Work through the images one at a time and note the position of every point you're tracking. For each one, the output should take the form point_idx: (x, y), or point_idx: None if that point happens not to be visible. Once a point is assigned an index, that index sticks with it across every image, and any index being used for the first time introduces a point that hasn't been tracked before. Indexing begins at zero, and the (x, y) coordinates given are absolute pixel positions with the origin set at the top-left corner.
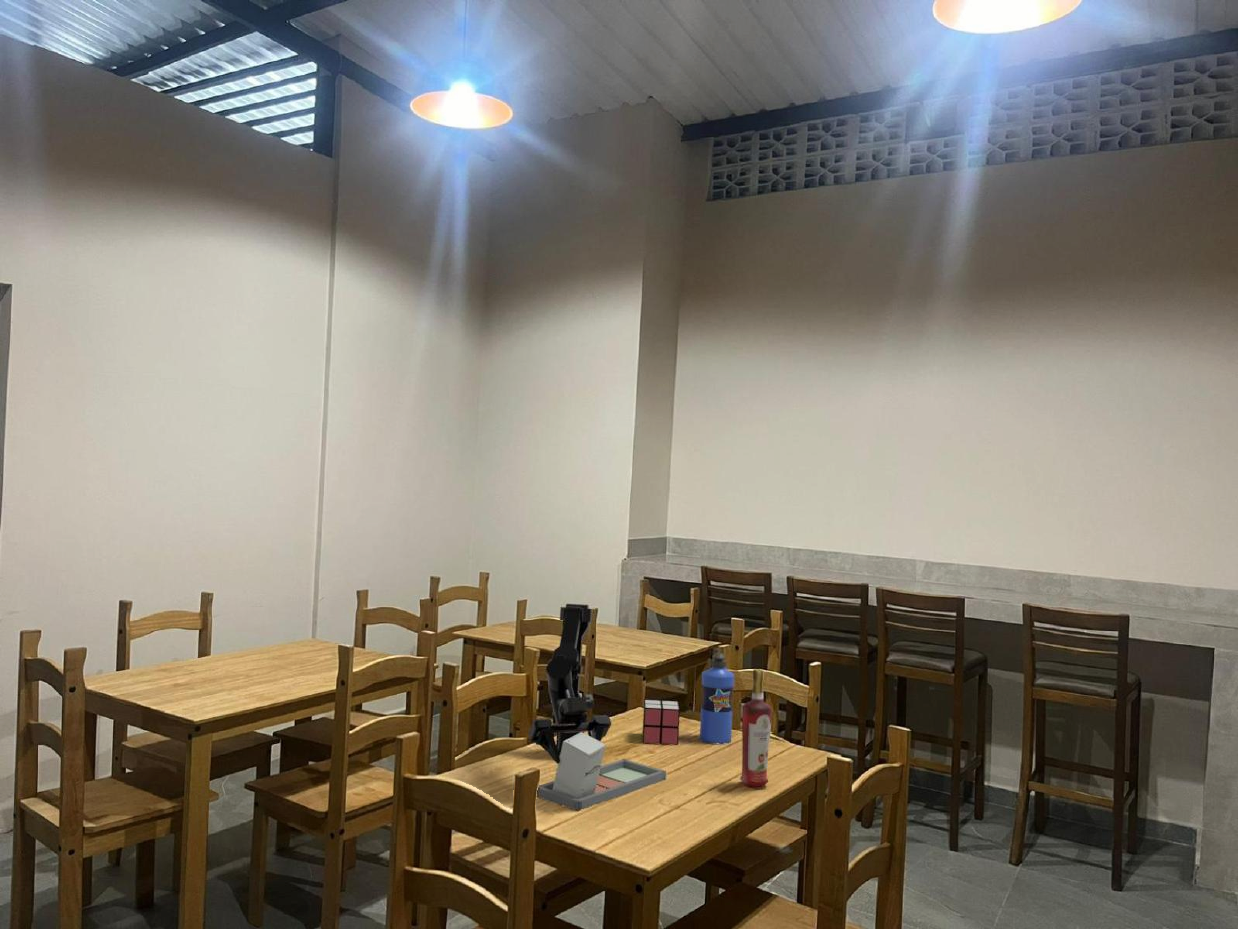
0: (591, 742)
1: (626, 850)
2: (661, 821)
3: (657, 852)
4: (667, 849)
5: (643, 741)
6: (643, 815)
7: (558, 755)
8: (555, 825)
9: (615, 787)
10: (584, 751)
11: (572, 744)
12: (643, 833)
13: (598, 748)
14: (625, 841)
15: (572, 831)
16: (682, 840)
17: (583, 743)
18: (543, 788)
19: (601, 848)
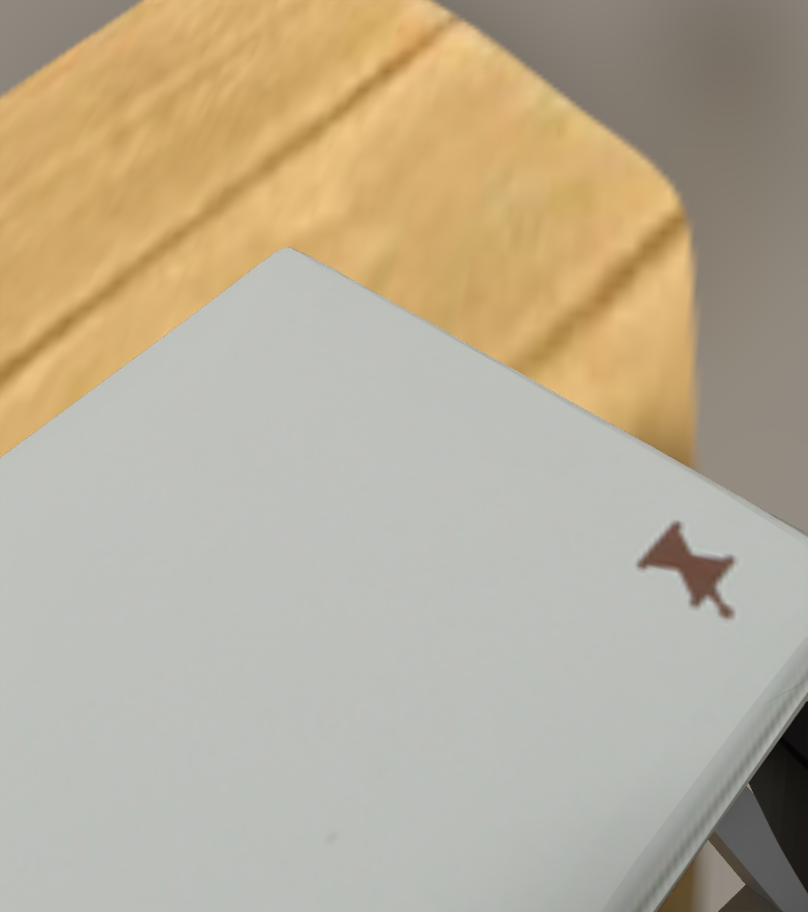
0: (19, 645)
1: (315, 22)
2: (13, 314)
3: (194, 14)
4: (142, 38)
5: None
6: (67, 400)
7: (794, 733)
8: (631, 267)
9: None
10: (333, 286)
11: (572, 436)
12: (173, 176)
13: (4, 458)
14: (291, 97)
15: (535, 192)
16: (36, 114)
17: (257, 545)
18: (768, 854)
19: (421, 33)
